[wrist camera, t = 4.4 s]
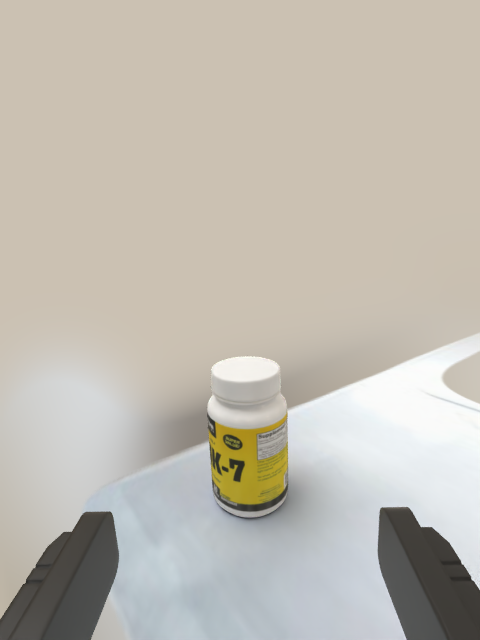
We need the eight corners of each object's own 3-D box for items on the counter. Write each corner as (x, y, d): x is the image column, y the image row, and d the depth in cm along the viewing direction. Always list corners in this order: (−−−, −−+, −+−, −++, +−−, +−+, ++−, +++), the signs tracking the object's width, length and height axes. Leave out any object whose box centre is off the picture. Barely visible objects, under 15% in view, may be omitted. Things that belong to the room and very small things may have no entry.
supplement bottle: (198, 488, 23) (188, 366, 21) (254, 458, 26) (250, 348, 24) (244, 535, 19) (237, 392, 17) (304, 494, 22) (304, 367, 20)
